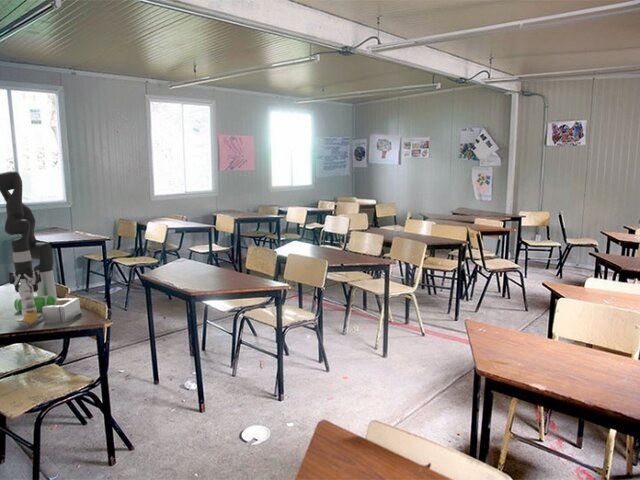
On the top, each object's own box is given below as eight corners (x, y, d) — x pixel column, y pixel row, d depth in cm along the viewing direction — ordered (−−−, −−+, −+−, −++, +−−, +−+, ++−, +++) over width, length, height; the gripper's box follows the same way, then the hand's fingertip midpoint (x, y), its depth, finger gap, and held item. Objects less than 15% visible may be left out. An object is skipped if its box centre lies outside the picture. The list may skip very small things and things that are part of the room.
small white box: (46, 314, 245) (44, 299, 244) (80, 312, 245) (78, 297, 244) (20, 329, 223) (17, 313, 221) (57, 328, 223) (55, 311, 222)
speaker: (56, 306, 258) (54, 293, 257) (50, 311, 251) (48, 297, 250) (21, 309, 256) (19, 295, 255) (14, 313, 249) (12, 299, 248)
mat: (28, 315, 244) (28, 314, 244) (43, 314, 245) (43, 313, 244) (17, 321, 235) (16, 320, 235) (32, 321, 235) (32, 319, 235)
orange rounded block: (33, 321, 233) (31, 308, 231) (39, 321, 233) (37, 307, 231) (23, 327, 225) (21, 313, 224) (29, 327, 225) (27, 313, 224)
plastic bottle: (20, 317, 239) (14, 278, 236) (35, 313, 244) (29, 275, 241) (24, 319, 235) (18, 280, 231) (40, 316, 240) (33, 277, 236)
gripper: (3, 262, 231) (8, 294, 234) (32, 261, 231) (37, 293, 234) (12, 259, 238) (17, 290, 241) (41, 257, 239) (45, 289, 241)
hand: (27, 291), depth 237 cm, fingers open, 8 cm apart
